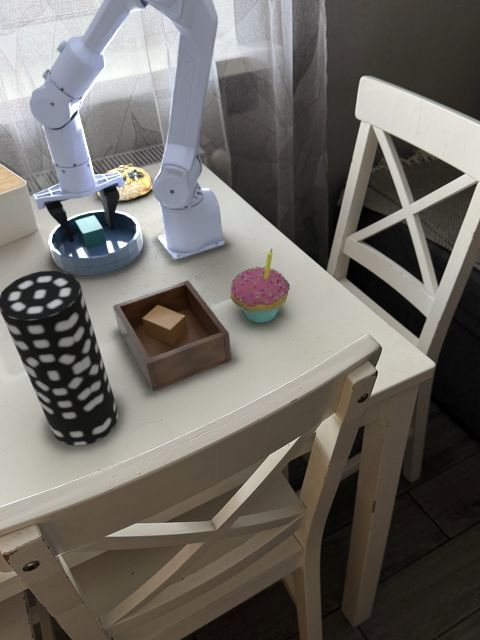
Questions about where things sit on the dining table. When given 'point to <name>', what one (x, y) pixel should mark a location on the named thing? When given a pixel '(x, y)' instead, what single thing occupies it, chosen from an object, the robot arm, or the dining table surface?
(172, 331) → the brown block
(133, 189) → the bread roll
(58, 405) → the white-spotted black cylinder
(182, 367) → the holder
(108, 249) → the bowl
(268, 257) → the cupcake
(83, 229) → the teal block
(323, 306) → the dining table surface
